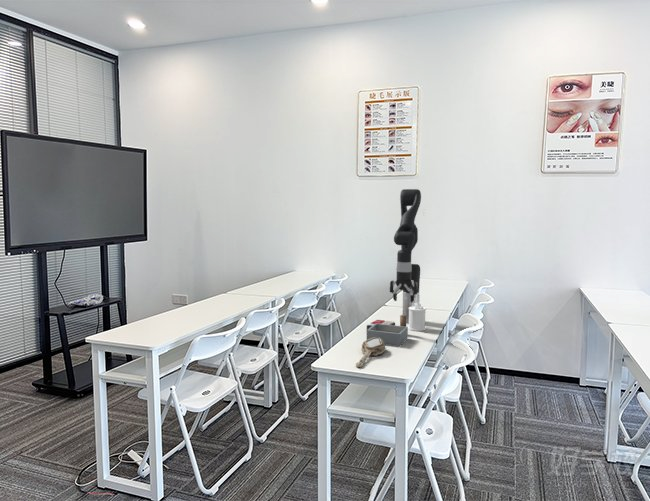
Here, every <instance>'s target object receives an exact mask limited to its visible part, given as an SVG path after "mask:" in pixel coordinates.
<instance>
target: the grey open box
mask: <svg viewBox="0 0 650 501" xmlns="http://www.w3.org/2000/svg"><path fill="white" fill-rule="evenodd" d="M408 327H409V326H406V327H404V326H400V325H396V324H395V325H386V324H377V323H375V324H374V325H373V326H371V327H370V328H369V329H368V330H367V329H366V340H368V339H370V338H373V337H376V338H380V339H382V340H383V342H384V344H385V345H388V346H393V345H395V346H396V347H401V346H402V345H403V344H404V343H405V342H406V341H407V340H408V339H407V338H409V336H408V335H409V334H408V332H409V331H408V330H409V329H408ZM406 339H407V340H406ZM405 340H406V341H405ZM404 341H405V342H404ZM402 343H403V344H402Z"/></svg>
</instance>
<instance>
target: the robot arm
mask: <svg viewBox="0 0 650 501" xmlns="http://www.w3.org/2000/svg"><path fill="white" fill-rule="evenodd" d="M399 196H400V198H399V200H400V216H401V218H400V223H399V226H398V228H397V230H396V231H395V233H394V236H393V242H394V244H395V245H397V246H401V247H400V248H401V249H400V250H398V251H397V258H396V260H397V261H396V280H394V279H393V280H391V281H390V283H389V292H390V293H391V294H392V295H393V296H392V298H393V299H392V300H394V302H397V300H398V291H399V290H400V291H402V314H401V315H406V324H409V307H411V306H412V302H413V301H414V302H415V300H416V294H417V293H419V294H420V279H421V266H420V265H419V264H416V263H412V252H413V249H414V248H415V247H416V245H417V243H418V238H419V235H418V234H419V233H418V231H419V230H418V227H417V225H416V224H415V220H416V217H417V213H418V211H419V208H420V206H421V201H422V193H421V190H420V189H419V188H408V189H407V188H406V189H401V191H400V195H399ZM408 207H410V208H409V209H408ZM395 285H396V286H397V287H396V288H394V286H395ZM414 298H415V299H414ZM414 302H413V305H414V306H415V304H414ZM415 303H416V302H415Z"/></svg>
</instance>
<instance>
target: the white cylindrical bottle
mask: <svg viewBox="0 0 650 501" xmlns="http://www.w3.org/2000/svg"><path fill="white" fill-rule="evenodd" d="M414 299H415V298H414ZM413 302H414V301H413ZM413 302H412V306H411V307H409V323H408V326H407V327H408V330H410V331H413V332H423V331H425V330H426V310H427V308H426V307H424V306H422V305H421V303H420V292H419V293H417V294H416V300H415V302H416V303H415V302H414V304H415V306H414V305H413Z"/></svg>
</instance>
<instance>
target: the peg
mask: <svg viewBox="0 0 650 501" xmlns="http://www.w3.org/2000/svg"><path fill="white" fill-rule="evenodd" d="M399 326H404V327H407V323H406V315H402V314H400V315H399Z"/></svg>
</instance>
